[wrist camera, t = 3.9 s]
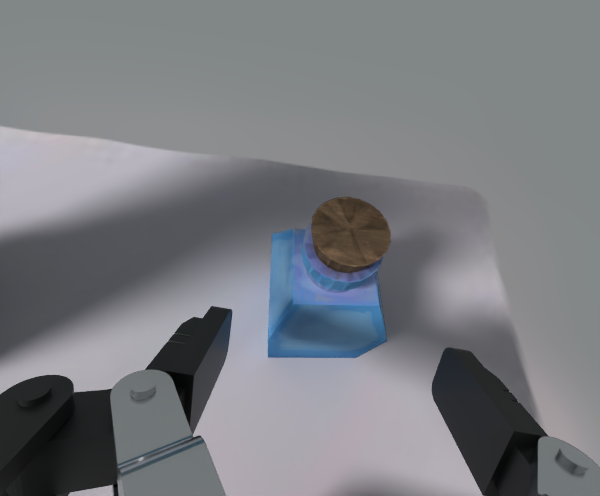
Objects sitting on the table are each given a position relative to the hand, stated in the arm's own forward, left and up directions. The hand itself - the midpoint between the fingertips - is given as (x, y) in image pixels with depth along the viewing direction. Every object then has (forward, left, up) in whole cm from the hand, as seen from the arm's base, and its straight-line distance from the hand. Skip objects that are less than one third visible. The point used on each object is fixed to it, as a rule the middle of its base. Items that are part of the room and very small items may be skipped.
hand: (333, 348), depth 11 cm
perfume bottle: (0, +4, -10) cm, 11 cm away
